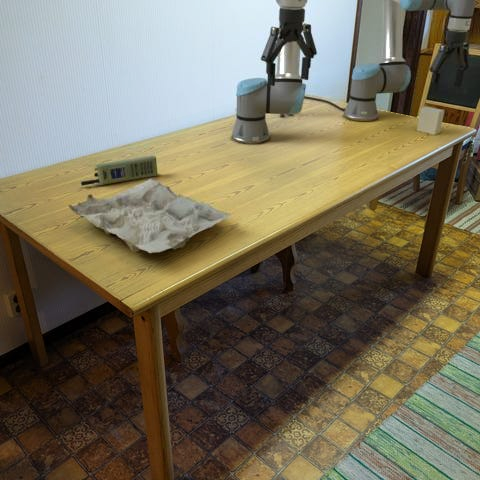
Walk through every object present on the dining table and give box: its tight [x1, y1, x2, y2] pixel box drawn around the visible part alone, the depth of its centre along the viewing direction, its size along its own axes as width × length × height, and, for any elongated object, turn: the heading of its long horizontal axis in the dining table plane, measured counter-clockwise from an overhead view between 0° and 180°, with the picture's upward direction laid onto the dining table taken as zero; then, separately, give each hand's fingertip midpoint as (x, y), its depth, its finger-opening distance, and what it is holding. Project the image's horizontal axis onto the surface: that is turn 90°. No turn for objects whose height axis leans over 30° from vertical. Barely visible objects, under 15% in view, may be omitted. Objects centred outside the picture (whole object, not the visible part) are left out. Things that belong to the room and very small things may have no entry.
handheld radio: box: [80, 155, 159, 187], centre depth 164 cm, size 7×3×25 cm
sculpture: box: [68, 178, 232, 254], centre depth 138 cm, size 38×6×30 cm
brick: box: [416, 105, 445, 136], centre depth 215 cm, size 5×8×10 cm, turn 45°
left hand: (288, 82), depth 158 cm, fingers open, 13 cm apart
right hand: (445, 88), depth 198 cm, fingers open, 13 cm apart
